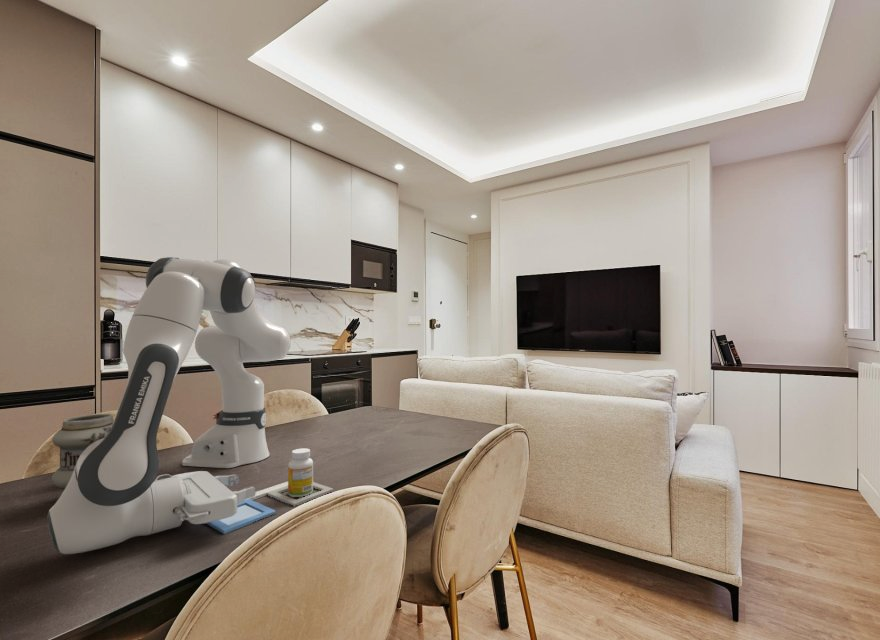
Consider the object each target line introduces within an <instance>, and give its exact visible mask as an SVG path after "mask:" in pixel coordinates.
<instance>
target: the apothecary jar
mask: <svg viewBox="0 0 880 640" xmlns="http://www.w3.org/2000/svg"><path fill="white" fill-rule="evenodd" d="M113 422H114V417H113V414H112V413H94V414H93V413H92V414H84V415H83V414H82V415H77V416H71V417H68V418H66V419H64V420H63V421H62V426H61V428H60V429H59V430H57V431H56V432H55V433H54V434H53V436H52V443H53V444H54V445H55V446H56V447H59V468H57V469H56V470H55V471H54V473H53V474H52V476H51V482H52V483H53V485H54V486H56V487H57V488H60V489H63V490H65V488H66V486H67V485H68V483H69V481H70V479H71V476H72V474H73V471H74V469H75V466H76V463H77V461H78V459H79V457H80V455H81V454H82V452H83V451H84V450H85V449H86V448H87V447H88V446H89V445H90V444H92V443H93V442H95V441H97V440H99V439H101V438H105V437H106V436H107V434H108V433H109V431H110V429H111V427H112V424H113Z"/></svg>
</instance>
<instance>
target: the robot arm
mask: <svg viewBox="0 0 880 640" xmlns="http://www.w3.org/2000/svg"><path fill="white" fill-rule="evenodd" d="M145 276H146V277H145V286H146V289H145V291H144V292H143V294H142V296H141V298H140V299H139V301H138V303H137V305H136V307H135V309H134V311H133V314H132V316H131V318H130V320H129V323H128V326H127V330H126V332H125V337H124V342H123V348H122V349H123V350H122V352H123V355H124V359H125V361H126V363H127V369H128V373H127V374H128V375H127V376H128V377H127V382H126V387H125V390H124V391H123V392H124V393H123V395H122V397H121V401H120V402H119V406H118V408H117V412H116V414H115V417H114V418H113V420H114V422H113V424H112V427H111V429H110V431H109V433H108V434H107V436H106V437H105V438H101V439H99V440H97V441H95V442H93V443H92V444H90V445H89V446H88V447H87V448H86V449H85V450H84V451H83V452H82V454H81V455H80V457H79V459H78V461H77V463H76V466H75V469H74V471H73V474H72V476H71V479H70V481H69V483H68V485H67V486H66V488H65V489H63V492H62V493H61V495H60V496H59V497H58V499H57V500H56V502H55V503H54V505H52V507H50V509H49V510H48V512H47V514H46V515H47V516H46V522H47V526H48V531H49V536H50V539H51V544H52V546H53V548H54V549H55V551H56V552H58V553H59V554H62V555H75V554H81V553H86V552H91V551H95V550H100V549H103V548H107V547H111V546H115V545H118V544H120V543H123V542H124V541H127V540H129V539H131V538H135V537H140V536H143V537H144V536H150V535H153V534H154V535H155V534H157V533H161V532H164V531H167V530H172V529H176V528H178V527H180V526H181V525H182V523H183V522H185V521H188V523H190V524H192V525H202V524H206V523H208V522H212V521H217V520H221V519H225V518H229V517H231V516H233V515H235V514H236V513H237V504H239V503H241V502H242V501H244V500H245V499H247V498H251V497H254V496H255V492H256V487H254V486H252V485H249V486H245V487H243V489H241V490H238V491H237V490H234V491H232V490H231V489H229V488H228V486H230V487H232V486H235V485H238V484H240V483H239V482H240V477H239V476H238V475H237V474H230V475H216V476H214V475H212V474H211V473H210V472H209V471H206V470H205V471H204V470H199V471H197V470H195V471H190V472H184V473H178V474H173V475H170V474H169V473H165V474H161V475H158V472H159V466H160V460H159V454H158V453H159V452H158V445H157V436H158V430H159V427H160V424H161V421H162V418H163V414H164V412H165V408H166V405H167V401H168V397H169V395H170V392H171V388H172V387H173V383H174V381H175V378H176V376H177V375H178V372H179V371H180V368H181V367H182V365H183V364H184V361H185V360H186V358H187V356H188V355H189V352H190V349H191V347H192V345H193V344H194V348H195V352H196V354H197V356H198V357H199V358H200V359H201V360H202V361H204V362H206V364H207V363H208V365H209V366H211V368H212V369H213V370H214V371H215V374H217V376H218V377H217V378H218V379H219V381H220V385H221V386H220V387H221V397H222V399H221V400H222V401H221V402H222V409H221V411H218V412H217V413H216V414H213V415H212V416H213V418H212V419H213V420H215V421H216V422H215V424H214V425H212V426H211V427H210V428H209V429H208V430H206V431H204V432H203V433H202V434H201V435H200V436H199V437H197V438H196V439H195V440H194V442H193V445H192V450H191V454H189V455H187V456H186V457H185V458H183V459H182V462H181V465H182V466H184V467H201V468H202V467H203V468H217V469H230V468H231V469H232V468H235V467H238V466H242V465H247V464H252V463H257V462H259V461H263V460H265V459H267V458H268V457H269V456H270V451H269V449H268V444H267V439H266V438H267V437H266V430H265V427H266V424H267V423H266V422H267V414H266V413H267V412H266V411H267V410H266V407H265V384H264V381H263V380H262V379H261V378H260V377H259V376H257V375H255V374H253V373H251V372H249V371H247V370H246V368H245V367H244V363H260V362H262V363H263V362H264V363H266V362H271V361H272V362H273V361H277V360H283V359H284V358H285V357H286V356H287V355H288V353H289V352H290V350H291V345H292V343H291V337H290V335H289V333H288V331H287V330H286V328H284V327H283V326H280V325H277V324H275V323H273V322H272V321H270V320H268V319H267V318H266V317H265V316H264V315H262V314H261V312H260V311H259V310H258V307H257V304H256V301H255V293H256V280H255V279H254V276H253V275H251V273H250V272H249V271H248V270H246V269H244V268H242V267H241V265H239V264H238V263H237V262H235V261H233V260H230V259H223V258H222V259H217V260H212V261H211V260H210V261H208V260H198V259H187V258H185V259H184V258H180V257H175V256H174V257H172V256H171V257H169V256H167V257H161V258H159V259H157V260H155V262H153V263H152V264H151V265H150V266H149V268H148V269H147V272H146V275H145ZM203 311H209V312H210V316H211V318H212V321H213V323H214V324H215V325H211V326H206V327H202V329H201V330H199V331H198V329H199V325H200V321H201V318H202V314H203ZM197 331H198V333H197ZM157 475H158V476H157Z"/></svg>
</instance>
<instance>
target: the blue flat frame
mask: <svg viewBox="0 0 880 640" xmlns="http://www.w3.org/2000/svg"><path fill="white" fill-rule="evenodd" d="M314 488H315V490H317V489H318V491H317V492H312V493H311V494H310V495H308V496H305V497H299V498H297V499H295V498H294V497H291V496H289V495H288V496H287V495H285V494H282V492H283V493H286V492H288V481H285V482H282V483H279V484H275V485H273V486H270V487H267V488H264V489H260V490H257V491H255V496H254V497H251V498H247V499H245V500H244V501H242V502H241V503H239V504H237V513H236V514H235V515H233V516H231V517H229V518H225V519H221V520H217V521H212V522H208V523H205V524H206V525H208V526H210V527H211V528H213V529H215V530H216V531H218V532H220V533H222V534H224V535H225V534H228V533H230V532H234V531H236V530H238V529H241V528H243V527H246V526H248V525H251V524H254V523H256V522H259V521H261V520H260V519H262V518H264V519H266V518H265V517H267V516H269V515H271V514H274V513H276V514H277V510H275V509H273V508H271V507H268V506H266V505H264V504H262V503H259V502H257V501H256V500H257V499H261V498H263V497H265V496H267V495H268V496H267V497H269V496H270V497H269V498H272V497H273V498H272V499H274V498H275V499H274V500H276V501H279V500H280V502H282V503H284V502H285V503H284V504H286V503H289V504H292V505H293V506H292V507H294V508H295V507H296V506H295V505H297V506H300V505H302V504H304V503H307V501H308V502H310V501H312V499H313V500H315V499H318V498H320V497H323V496H325V494H326V495H328V494H330V492H331V493H334V491H335V490H334V488H333V487H330V486H327V485H324V484H320V483H318V482H315V481H313V489H314ZM320 490H321V491H320ZM327 493H328V494H327ZM322 495H323V496H322ZM319 496H320V497H319ZM317 497H318V498H317ZM314 498H315V499H314ZM305 500H306V501H305ZM309 500H310V501H309ZM301 502H303V503H301ZM289 504H288V505H289ZM274 515H275V514H274ZM269 517H270V516H269ZM267 518H268V517H267ZM258 520H259V521H258ZM262 520H263V519H262ZM255 521H256V522H255ZM253 522H254V523H253Z"/></svg>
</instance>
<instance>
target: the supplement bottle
mask: <svg viewBox="0 0 880 640" xmlns="http://www.w3.org/2000/svg"><path fill="white" fill-rule="evenodd" d="M287 466H288V467H287V468H288V469H287V471H288V472H287V474H288V475H287V480H288V491H287V493H288V494H287V495H288V497H290V498H294V497H299V498H302V497H303V496H306V495H309V494H313V493H314V492H313V491H314V488H313V482H314V461H313V459H312V458H311V449H309V448H307V447H306V448H296V449H293V450H292V451H291V460H289V462H288V465H287Z"/></svg>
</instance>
